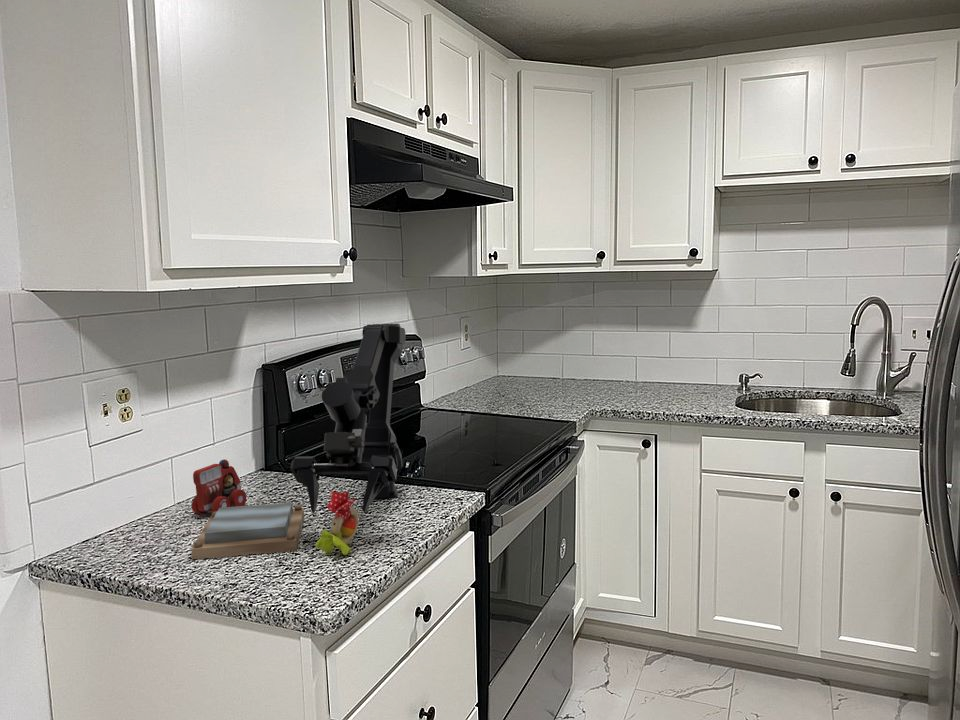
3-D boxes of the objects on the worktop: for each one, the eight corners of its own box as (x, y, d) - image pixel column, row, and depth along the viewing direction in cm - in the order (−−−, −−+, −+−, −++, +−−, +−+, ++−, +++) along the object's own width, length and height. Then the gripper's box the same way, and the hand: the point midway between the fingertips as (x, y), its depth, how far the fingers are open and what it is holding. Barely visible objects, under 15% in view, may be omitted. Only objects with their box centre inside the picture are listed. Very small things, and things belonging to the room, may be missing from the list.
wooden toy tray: (212, 524, 148) (210, 505, 148) (304, 517, 151) (303, 498, 150) (192, 560, 130) (190, 538, 130) (296, 550, 133) (295, 529, 133)
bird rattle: (333, 553, 137) (307, 552, 129) (342, 493, 140) (318, 487, 131) (363, 557, 135) (339, 556, 127) (372, 496, 138) (349, 490, 129)
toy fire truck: (253, 503, 161) (249, 456, 160) (212, 522, 150) (208, 472, 148) (227, 499, 164) (224, 454, 162) (186, 518, 153) (182, 469, 151)
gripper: (290, 414, 135) (274, 491, 126) (391, 412, 134) (383, 489, 125) (305, 445, 144) (291, 519, 135) (400, 444, 143) (393, 518, 134)
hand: (338, 511), depth 132 cm, fingers open, 9 cm apart
